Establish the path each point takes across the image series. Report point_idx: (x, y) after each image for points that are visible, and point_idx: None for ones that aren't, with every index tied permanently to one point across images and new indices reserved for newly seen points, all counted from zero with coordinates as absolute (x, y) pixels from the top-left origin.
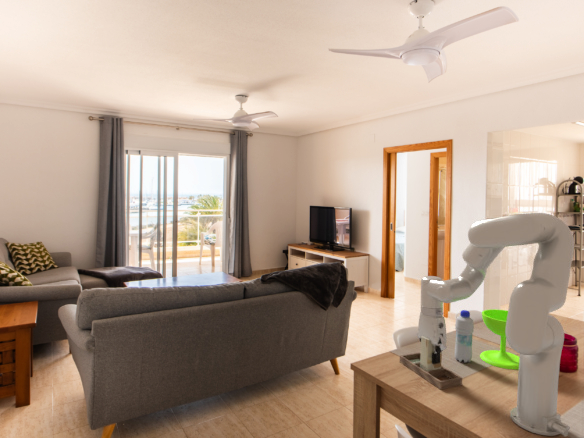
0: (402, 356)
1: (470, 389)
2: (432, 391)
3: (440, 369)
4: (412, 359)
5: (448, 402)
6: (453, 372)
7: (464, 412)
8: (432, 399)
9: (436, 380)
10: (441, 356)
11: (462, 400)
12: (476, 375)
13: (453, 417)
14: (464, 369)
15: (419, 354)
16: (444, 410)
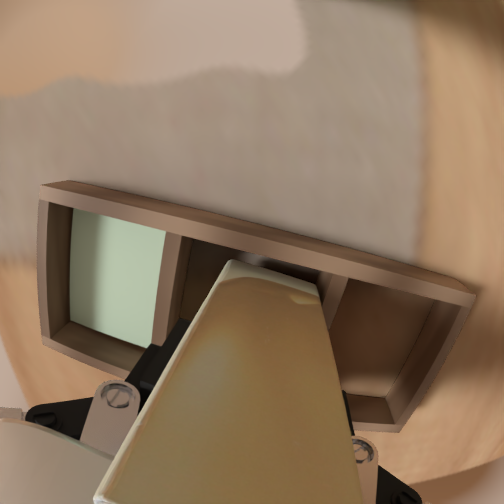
0: (53, 342)
1: (492, 284)
2: (369, 437)
3: (326, 317)
4: (67, 252)
5: (442, 437)
6: (414, 278)
7: (489, 430)
8: (392, 464)
9: (372, 427)
10: (332, 350)
11: (480, 390)
12: (448, 79)
13: (465, 464)
14: (357, 48)
15: (55, 201)
16: (440, 467)
